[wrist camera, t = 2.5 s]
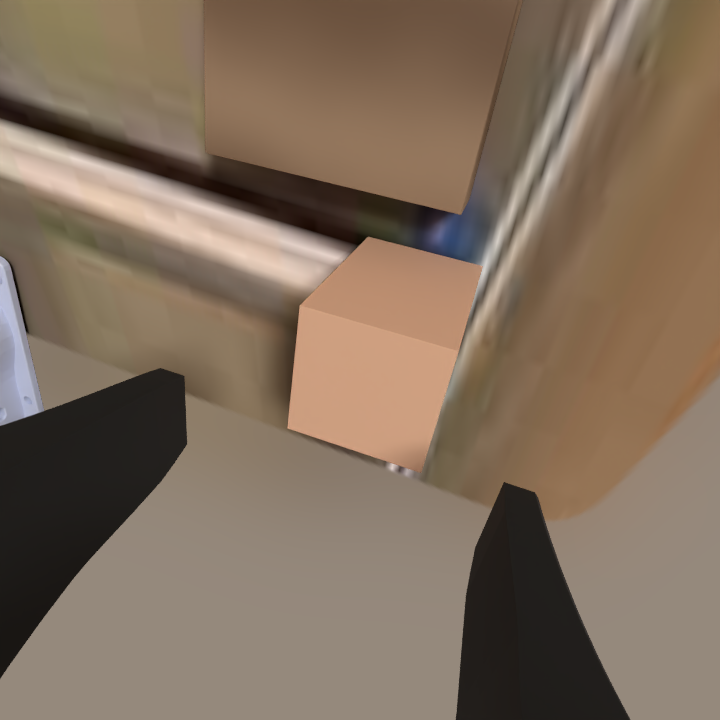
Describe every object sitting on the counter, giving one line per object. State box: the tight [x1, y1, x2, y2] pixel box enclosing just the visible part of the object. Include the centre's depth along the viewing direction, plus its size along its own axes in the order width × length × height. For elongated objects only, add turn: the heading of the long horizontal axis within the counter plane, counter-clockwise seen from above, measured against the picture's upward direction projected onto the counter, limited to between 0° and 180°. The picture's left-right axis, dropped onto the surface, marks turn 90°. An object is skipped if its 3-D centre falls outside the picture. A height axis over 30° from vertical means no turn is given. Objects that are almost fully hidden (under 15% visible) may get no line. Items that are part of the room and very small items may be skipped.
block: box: [288, 237, 483, 473], centre depth 16 cm, size 4×4×6 cm
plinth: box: [204, 0, 523, 215], centre depth 13 cm, size 8×8×2 cm
